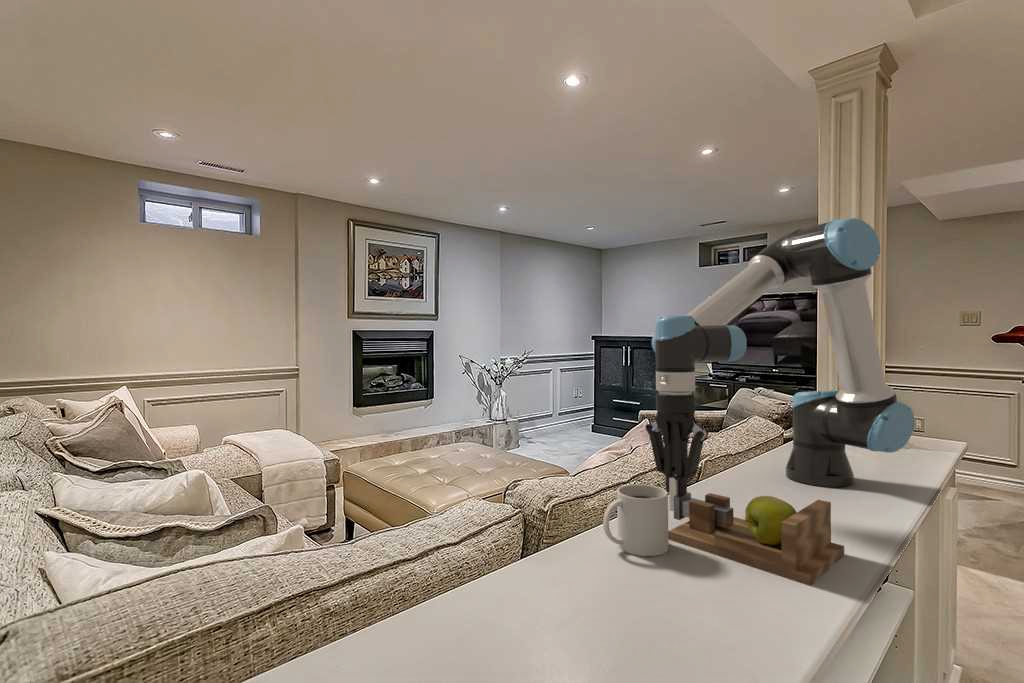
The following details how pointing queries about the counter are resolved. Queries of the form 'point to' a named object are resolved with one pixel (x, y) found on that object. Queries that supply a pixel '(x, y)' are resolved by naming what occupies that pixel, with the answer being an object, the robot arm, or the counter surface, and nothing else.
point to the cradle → (795, 558)
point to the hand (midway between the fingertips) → (676, 509)
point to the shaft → (721, 512)
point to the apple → (767, 518)
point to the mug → (640, 520)
